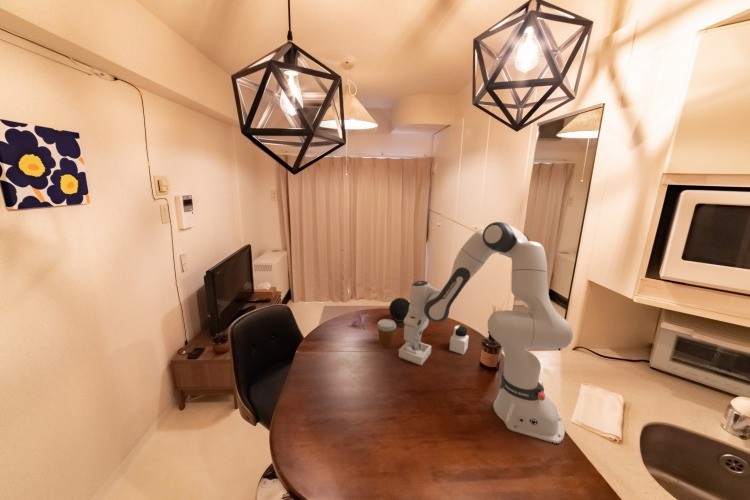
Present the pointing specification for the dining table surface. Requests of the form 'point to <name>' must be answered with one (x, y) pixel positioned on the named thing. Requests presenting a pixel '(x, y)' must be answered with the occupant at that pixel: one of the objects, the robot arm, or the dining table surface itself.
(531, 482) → the dining table surface
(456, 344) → the medicine bottle
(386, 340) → the disposable coffee cup
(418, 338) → the salt shaker
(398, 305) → the black ball on stand
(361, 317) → the lily
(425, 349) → the white square tray
